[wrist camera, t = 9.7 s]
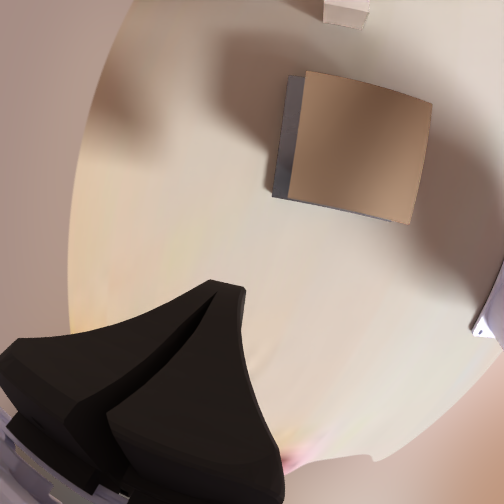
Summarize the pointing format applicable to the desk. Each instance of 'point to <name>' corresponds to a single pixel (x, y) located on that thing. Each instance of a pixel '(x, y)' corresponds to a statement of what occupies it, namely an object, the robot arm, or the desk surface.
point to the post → (292, 142)
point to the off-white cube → (346, 12)
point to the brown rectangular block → (359, 147)
